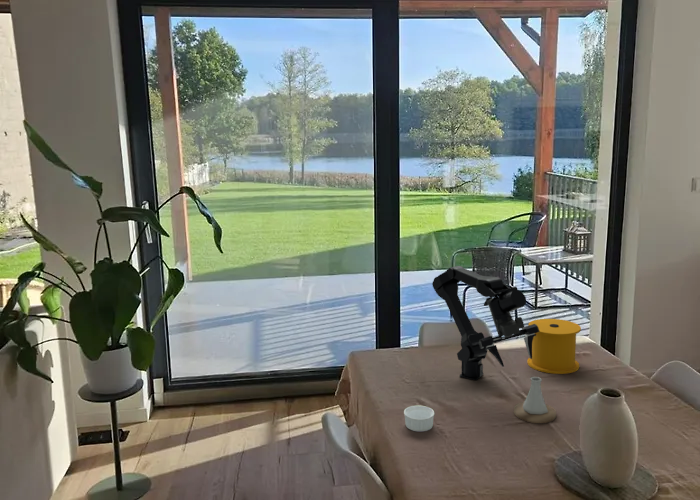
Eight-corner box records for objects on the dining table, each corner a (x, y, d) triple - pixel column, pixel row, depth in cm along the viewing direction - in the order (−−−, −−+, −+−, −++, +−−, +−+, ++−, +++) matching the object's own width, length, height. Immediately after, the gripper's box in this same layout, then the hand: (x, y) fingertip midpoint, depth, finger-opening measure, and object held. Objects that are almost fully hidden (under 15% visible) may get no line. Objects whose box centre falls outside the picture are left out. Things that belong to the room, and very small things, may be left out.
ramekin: (437, 420, 172) (437, 407, 171) (431, 434, 164) (431, 420, 163) (407, 417, 175) (407, 403, 174) (400, 430, 167) (400, 416, 166)
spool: (583, 360, 215) (585, 322, 212) (573, 377, 200) (574, 336, 197) (534, 353, 225) (535, 315, 222) (521, 368, 210) (522, 328, 207)
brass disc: (508, 416, 173) (508, 413, 173) (521, 402, 183) (521, 398, 182) (548, 427, 166) (549, 423, 166) (560, 411, 176) (561, 407, 175)
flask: (552, 414, 171) (553, 382, 170) (529, 416, 170) (530, 384, 168) (540, 403, 178) (541, 372, 177) (518, 406, 177) (519, 375, 175)
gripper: (476, 320, 180) (492, 369, 176) (534, 303, 179) (552, 353, 175) (472, 324, 191) (487, 371, 187) (527, 309, 190) (543, 355, 186)
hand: (517, 362), depth 183 cm, fingers open, 9 cm apart
